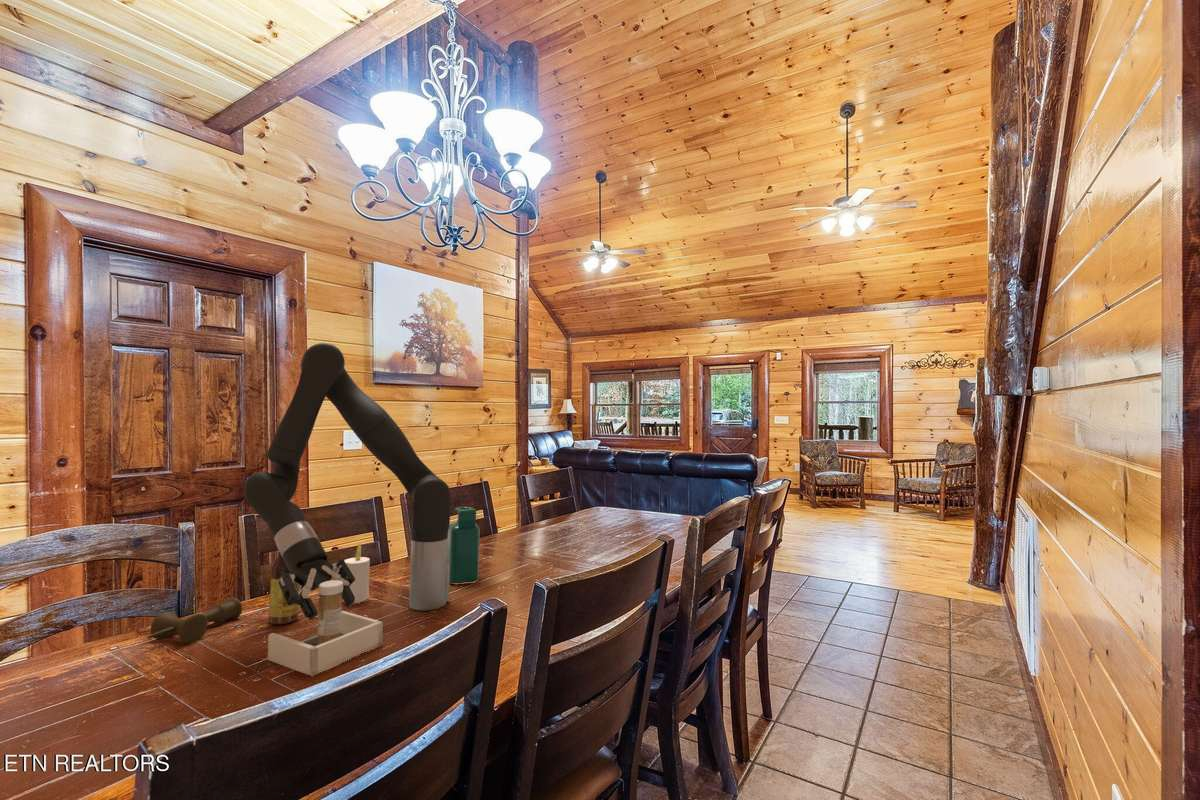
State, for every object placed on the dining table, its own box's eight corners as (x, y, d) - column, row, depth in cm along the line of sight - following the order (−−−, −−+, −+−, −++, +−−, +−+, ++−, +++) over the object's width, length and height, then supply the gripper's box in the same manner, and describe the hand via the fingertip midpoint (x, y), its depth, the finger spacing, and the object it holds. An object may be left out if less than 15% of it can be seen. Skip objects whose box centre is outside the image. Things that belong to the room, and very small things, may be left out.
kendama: (251, 622, 129) (164, 654, 109) (219, 618, 131) (129, 650, 112) (252, 596, 129) (166, 624, 110) (220, 593, 132) (131, 620, 112)
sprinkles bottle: (316, 645, 113) (318, 581, 113) (340, 642, 115) (342, 578, 115) (316, 654, 109) (318, 587, 109) (341, 650, 111) (343, 584, 111)
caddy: (338, 632, 122) (339, 609, 122) (382, 645, 116) (382, 621, 116) (267, 659, 108) (268, 634, 108) (312, 676, 101) (313, 649, 102)
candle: (336, 602, 141) (338, 544, 142) (356, 594, 147) (357, 539, 148) (354, 605, 139) (356, 547, 139) (373, 598, 145) (375, 542, 145)
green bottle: (445, 578, 164) (447, 505, 164) (473, 575, 167) (475, 504, 168) (451, 587, 155) (453, 510, 156) (480, 584, 158) (482, 509, 159)
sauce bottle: (284, 627, 124) (288, 540, 125) (261, 624, 126) (265, 538, 126) (305, 617, 131) (308, 534, 131) (283, 614, 132) (286, 533, 133)
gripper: (275, 543, 110) (309, 610, 104) (338, 530, 122) (371, 590, 116) (259, 565, 112) (291, 632, 106) (322, 551, 124) (354, 610, 119)
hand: (333, 610), depth 111 cm, fingers open, 8 cm apart
